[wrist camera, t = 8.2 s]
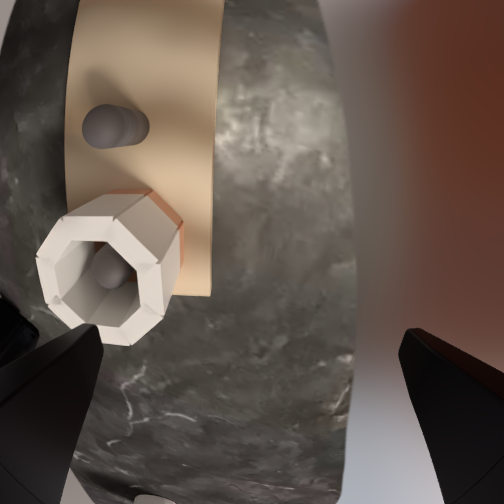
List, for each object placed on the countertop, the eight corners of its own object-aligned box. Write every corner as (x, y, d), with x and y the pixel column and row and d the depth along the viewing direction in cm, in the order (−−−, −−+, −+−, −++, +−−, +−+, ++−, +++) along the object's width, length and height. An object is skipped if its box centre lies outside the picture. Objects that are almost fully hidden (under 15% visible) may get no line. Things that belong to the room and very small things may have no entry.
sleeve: (185, 287, 19) (168, 349, 13) (96, 282, 18) (54, 335, 13) (183, 189, 16) (158, 217, 11) (86, 190, 16) (29, 216, 10)
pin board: (211, 285, 20) (203, 346, 14) (87, 278, 20) (44, 329, 14) (226, -19, 13) (224, -76, 7) (91, -4, 13) (46, -41, 6)
